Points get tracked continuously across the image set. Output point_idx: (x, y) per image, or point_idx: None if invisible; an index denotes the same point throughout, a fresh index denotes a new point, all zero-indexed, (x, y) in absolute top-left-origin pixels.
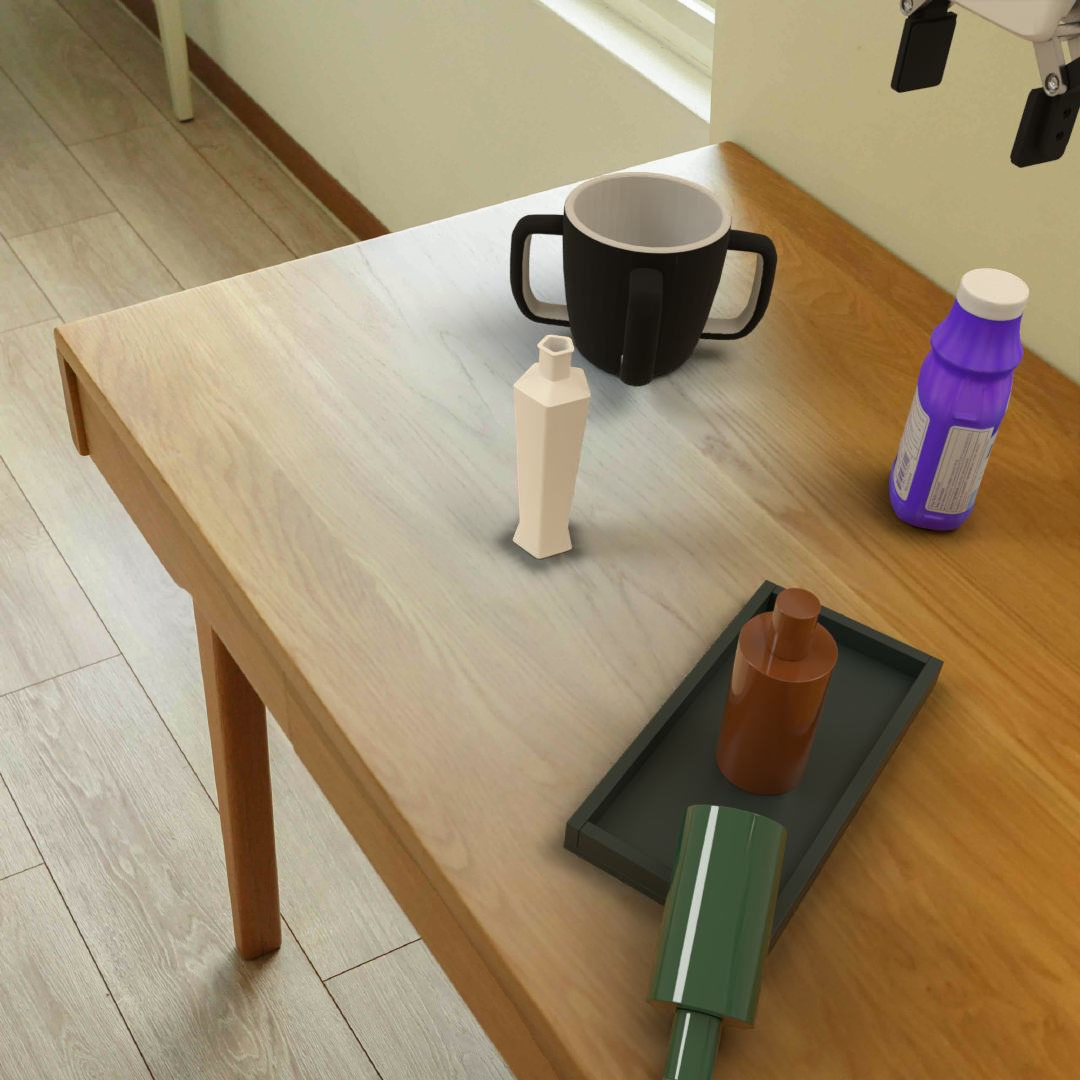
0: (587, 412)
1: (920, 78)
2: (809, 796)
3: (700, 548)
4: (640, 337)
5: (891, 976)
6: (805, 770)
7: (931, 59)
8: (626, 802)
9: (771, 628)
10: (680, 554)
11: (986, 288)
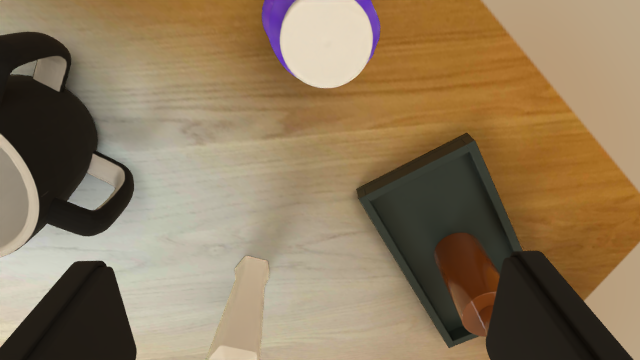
0: (256, 340)
1: (115, 336)
2: (489, 243)
3: (295, 196)
4: (119, 214)
5: (578, 256)
6: (478, 240)
7: (87, 358)
8: (442, 311)
9: None
10: (295, 209)
11: (330, 63)
